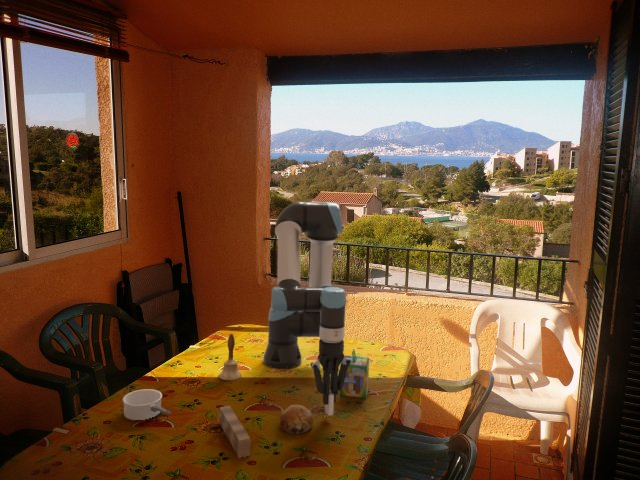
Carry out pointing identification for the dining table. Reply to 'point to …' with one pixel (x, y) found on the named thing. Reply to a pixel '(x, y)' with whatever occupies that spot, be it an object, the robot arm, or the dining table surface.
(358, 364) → the chalk box
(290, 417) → the bread roll
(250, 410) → the dining table surface
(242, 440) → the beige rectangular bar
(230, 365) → the hand bell
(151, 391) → the saucepan
